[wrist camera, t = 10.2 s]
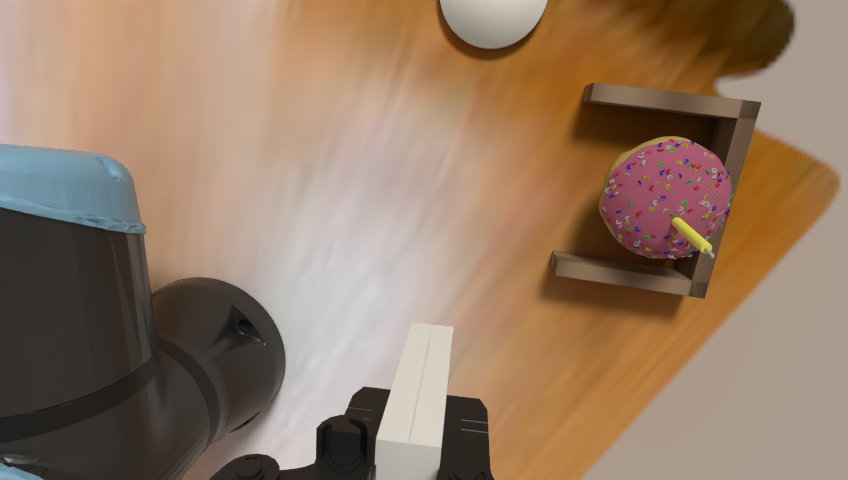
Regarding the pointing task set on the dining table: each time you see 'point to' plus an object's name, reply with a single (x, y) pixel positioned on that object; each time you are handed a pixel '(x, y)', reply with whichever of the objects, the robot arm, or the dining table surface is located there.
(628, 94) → the bay
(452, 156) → the dining table surface
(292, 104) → the dining table surface
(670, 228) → the cupcake
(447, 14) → the white round domed disc
